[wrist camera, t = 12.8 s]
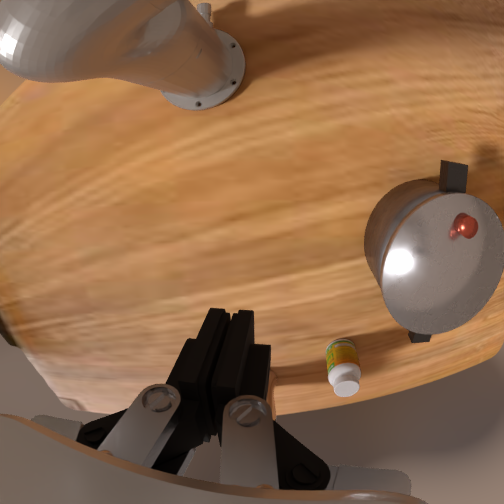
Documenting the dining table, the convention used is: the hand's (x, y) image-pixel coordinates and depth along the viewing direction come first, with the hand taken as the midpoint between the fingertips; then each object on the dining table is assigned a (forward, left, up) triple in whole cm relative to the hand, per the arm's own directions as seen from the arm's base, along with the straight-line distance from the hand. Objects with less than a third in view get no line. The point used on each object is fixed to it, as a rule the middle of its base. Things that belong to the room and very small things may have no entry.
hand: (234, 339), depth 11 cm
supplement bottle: (+27, +12, -31) cm, 43 cm away
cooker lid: (+6, +22, -21) cm, 31 cm away
